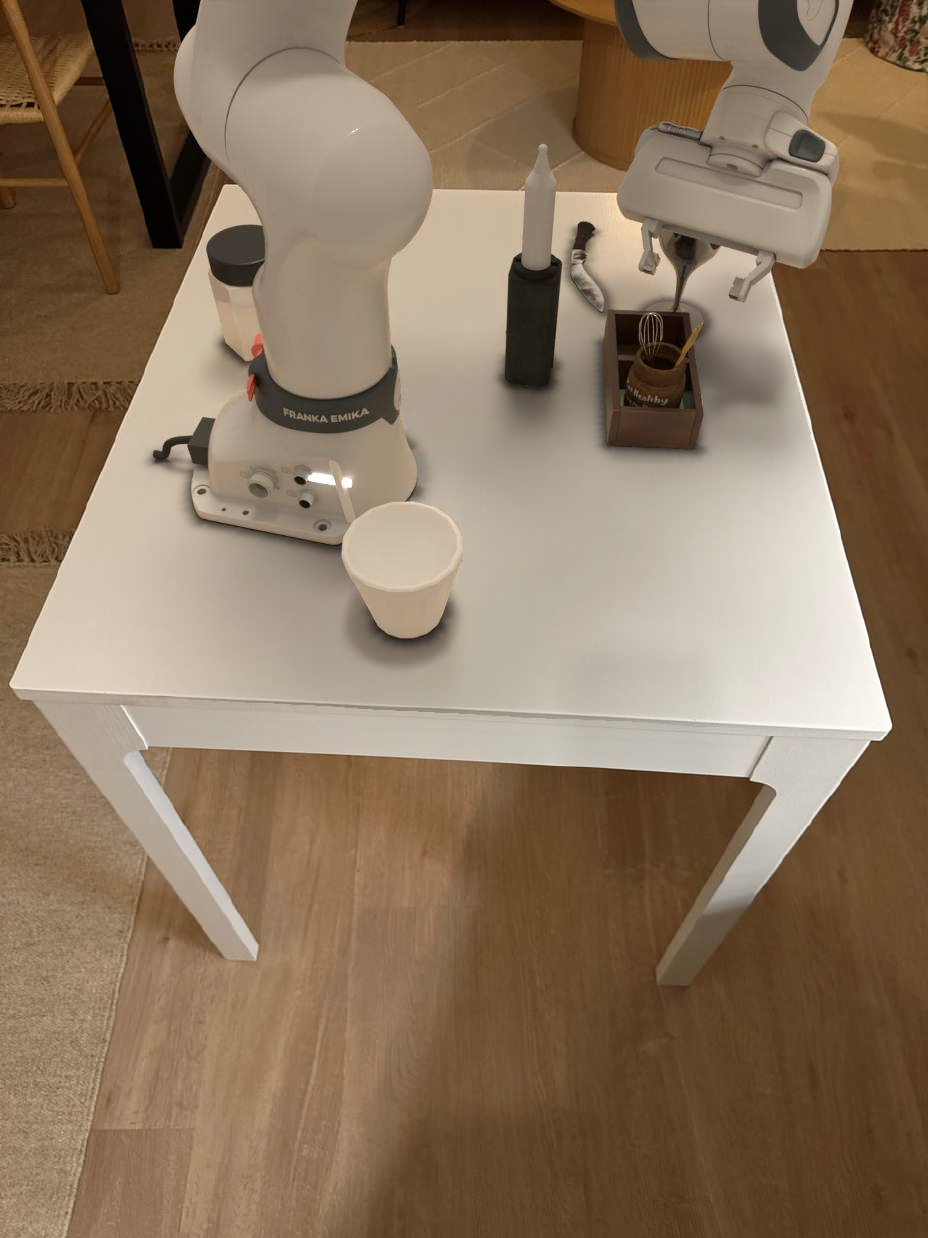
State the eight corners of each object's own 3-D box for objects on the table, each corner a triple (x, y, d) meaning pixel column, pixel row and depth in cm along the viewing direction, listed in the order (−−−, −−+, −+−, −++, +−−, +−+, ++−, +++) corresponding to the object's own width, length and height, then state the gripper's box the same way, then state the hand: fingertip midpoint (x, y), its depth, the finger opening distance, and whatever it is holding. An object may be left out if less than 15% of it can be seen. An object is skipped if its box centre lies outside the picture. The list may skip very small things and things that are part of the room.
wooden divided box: (607, 445, 94) (612, 410, 90) (602, 343, 104) (607, 308, 100) (695, 449, 93) (704, 414, 90) (681, 346, 104) (689, 311, 100)
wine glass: (711, 339, 104) (743, 216, 92) (643, 339, 105) (666, 215, 93) (702, 300, 109) (731, 177, 97) (636, 299, 109) (657, 176, 97)
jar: (315, 344, 104) (299, 247, 95) (254, 372, 101) (232, 275, 92) (274, 309, 108) (255, 213, 99) (214, 335, 105) (189, 239, 96)
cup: (367, 563, 84) (357, 493, 76) (472, 577, 83) (472, 507, 75) (340, 650, 78) (326, 582, 70) (453, 666, 77) (451, 598, 69)
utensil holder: (641, 386, 98) (659, 287, 89) (691, 410, 96) (715, 311, 86) (610, 413, 95) (626, 315, 86) (661, 439, 93) (683, 340, 83)
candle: (547, 388, 99) (567, 160, 79) (502, 383, 100) (510, 154, 80) (554, 360, 102) (574, 133, 82) (510, 355, 103) (520, 128, 83)
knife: (624, 304, 107) (583, 309, 107) (623, 314, 108) (583, 319, 108) (594, 219, 118) (556, 223, 118) (593, 228, 119) (556, 233, 119)
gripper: (642, 101, 86) (586, 245, 88) (855, 153, 79) (789, 306, 82) (653, 131, 91) (600, 265, 94) (852, 181, 85) (790, 323, 88)
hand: (690, 285), depth 88 cm, fingers open, 8 cm apart
